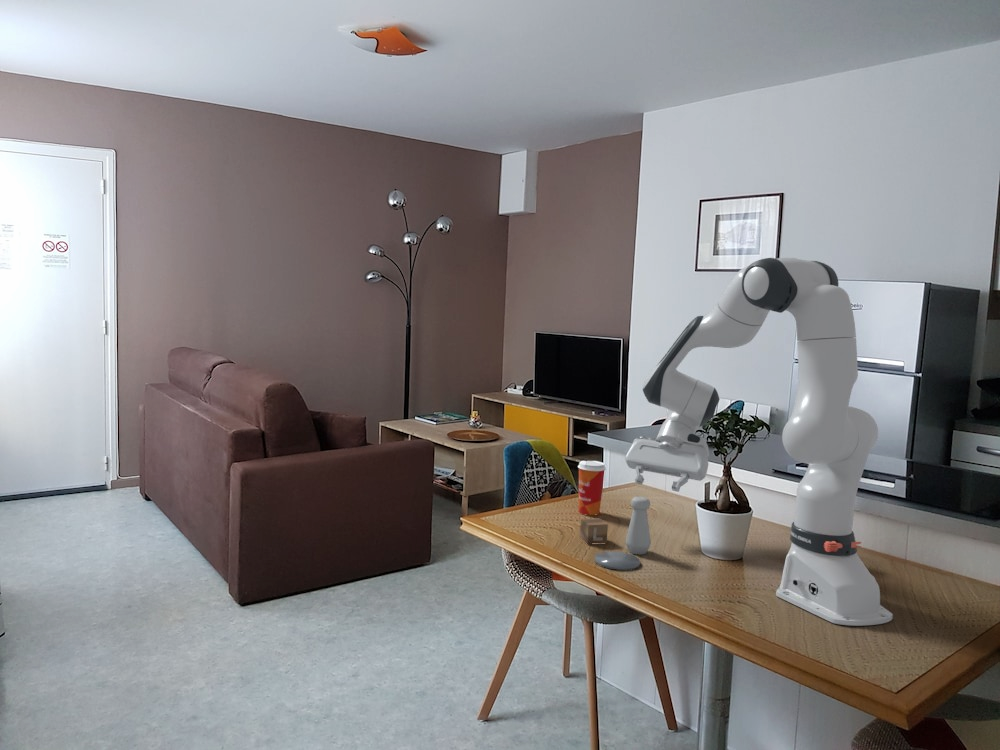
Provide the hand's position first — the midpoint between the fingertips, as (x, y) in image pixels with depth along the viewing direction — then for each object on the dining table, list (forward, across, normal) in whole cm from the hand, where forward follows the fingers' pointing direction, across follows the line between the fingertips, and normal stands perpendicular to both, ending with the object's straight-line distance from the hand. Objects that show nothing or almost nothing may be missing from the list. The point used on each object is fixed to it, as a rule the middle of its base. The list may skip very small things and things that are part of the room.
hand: (656, 486), depth 186 cm
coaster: (+23, 0, -3) cm, 24 cm away
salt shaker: (+16, 0, +4) cm, 17 cm away
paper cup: (+1, -24, +19) cm, 31 cm away
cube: (+16, -12, +4) cm, 21 cm away
